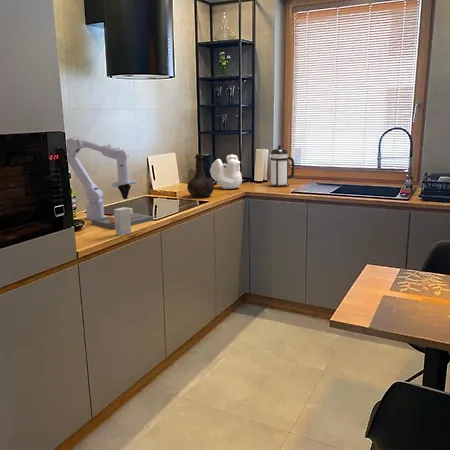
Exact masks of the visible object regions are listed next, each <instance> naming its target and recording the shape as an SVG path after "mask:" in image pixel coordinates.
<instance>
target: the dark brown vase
mask: <svg viewBox="0 0 450 450" xmlns="http://www.w3.org/2000/svg"><path fill="white" fill-rule="evenodd" d="M204 157H205V156H203V154H202V153H196V154H195V157H193V158H194V159H195V170H194V171H195V172H194V176H193V177H192V179H190V180H189V181H188V183H187V186H186V187H187V191H188V193H189V195H191V196H192V197H194V198H207V197H209V196H211V195H212V194H213V192H214V189H215V184H214V181H213V180H212V179H211V178H210V177H209V178H207V177H206V175H205V171H204V170H205V168H204V162H203V161H204V160H203V158H204Z"/></svg>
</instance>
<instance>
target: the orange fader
mask: <svg viewBox="0 0 450 450" xmlns="http://www.w3.org/2000/svg"><path fill="white" fill-rule="evenodd" d="M109 216H110V217H109V222H111V223H115V218H114V216H112V215H109Z"/></svg>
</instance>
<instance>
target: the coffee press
mask: <svg viewBox="0 0 450 450" xmlns="http://www.w3.org/2000/svg"><path fill="white" fill-rule="evenodd" d="M281 147H282V146H281V145H280V144H279V145H278V146H277V148H273V149H271V151H270V155H269V157H270V183H269V186H270V187H271V186H275V188H278V187H279V186H286V187H289V186H290V184H289V182H288V180H289V179H293V177H294V175H295V160H294V159H293V157H292V156H288V154H289V151H288V150H287V149H286V148H281ZM289 160H290V161H291V167H290V168H291V169H290V170H291V171H290V172H291V174H290V175H289V176H288V173H289V172H288V170H289V168H288V167H289V165H288V164H289Z"/></svg>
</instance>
